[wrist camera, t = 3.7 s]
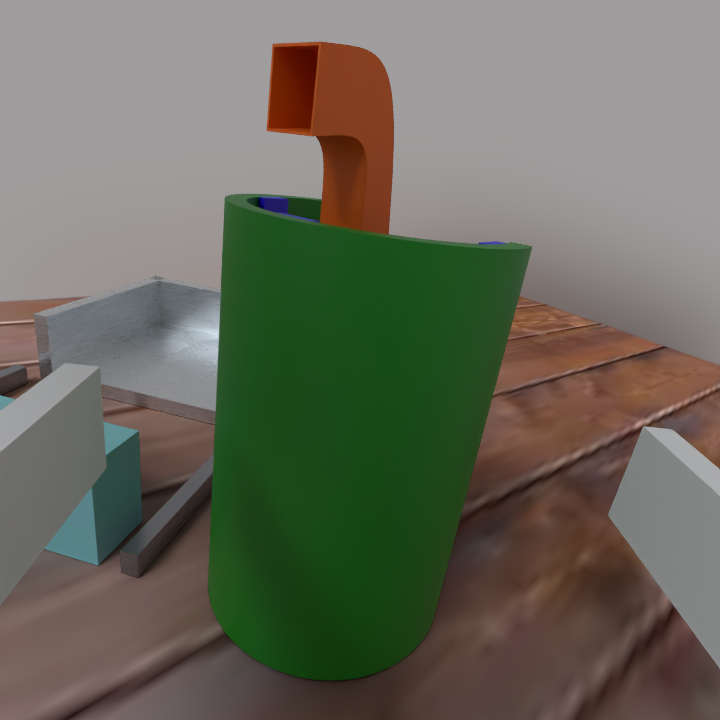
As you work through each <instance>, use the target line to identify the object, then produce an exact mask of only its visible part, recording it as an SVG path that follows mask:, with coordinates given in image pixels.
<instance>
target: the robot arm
mask: <svg viewBox="0 0 720 720" xmlns="http://www.w3.org/2000/svg"><path fill="white" fill-rule="evenodd" d="M106 468H107V466H106V451H105V436H104V421H103V406H102V391H101V376H100V367H98V366H89V365H80V364H71V363H65V364H63V365H62V366H60V367H59V368H58V369H56V370H55V371H54V372H52V373H51V374H50V375H48V376H47V377H46V378H44V379H43V380H41V381H40V382H39V383H37V384H36V385H35V386H33V387H32V388H31V389H29V390H28V391H27V392H25V393H24V394H22V395H21V396H20V397H18V398H17V399H16V400H14V401H13V402H12V403H10V404H9V405H8V406H6V407H5V408H3V409H2V410H1V411H0V606H1V604H2V603H3V602H4V601H5V599H6V598H7V597H8V595H9V594H10V593H11V591H12V590H13V589H14V588H15V586H16V585H17V584H18V582H19V581H20V580H21V578H22V577H23V576H24V574H25V573H26V572H27V571H28V569H29V568H30V567H31V565H32V564H33V563H34V561H35V560H36V559H37V558H38V556H39V555H40V554H41V552H42V551H43V550H44V548H45V547H46V546H47V545H48V543H49V542H50V541H51V539H52V538H53V537H54V535H55V534H56V533H57V532H58V530H59V529H60V528H61V526H62V525H63V524H64V522H65V521H66V520H67V519H68V517H69V516H70V515H71V513H72V512H73V511H74V509H75V508H76V507H77V505H78V504H79V503H80V502H81V500H82V499H83V498H84V496H85V495H86V494H87V492H88V491H89V490H90V489H91V487H92V486H93V485H94V483H95V482H96V481H97V479H98V478H99V477H100V476H101V474H102V473H103V472H104V470H105V469H106ZM608 516H609V517H610V519H611V520H612V522H613V523H614V524H615V526H616V527H617V528H618V530H619V531H620V533H621V534H622V535H623V537H624V538H625V539H626V541H627V542H628V544H629V545H630V546H631V548H632V549H633V550H634V552H635V553H636V554H637V556H638V557H639V559H640V560H641V561H642V563H643V564H644V565H645V567H646V568H647V570H648V571H649V572H650V574H651V575H652V576H653V578H654V579H655V581H656V582H657V583H658V585H659V586H660V587H661V589H662V590H663V592H664V593H665V594H666V596H667V597H668V598H669V600H670V601H671V602H672V604H673V605H674V607H675V608H676V609H677V611H678V612H679V613H680V615H681V616H682V618H683V619H684V620H685V622H686V623H687V624H688V626H689V627H690V629H691V630H692V631H693V633H694V634H695V635H696V637H697V638H698V640H699V641H700V642H701V644H702V645H703V646H704V648H705V649H706V650H707V652H708V653H709V655H710V656H711V657H712V659H713V660H714V661H715V663H716V664H717V666H718V667H719V668H720V469H719V468H718V467H716V466H715V465H714V464H713V463H712V462H710V461H709V460H708V459H707V458H706V457H705V456H703V455H702V454H701V453H700V452H699V451H697V450H696V449H695V448H694V447H693V446H691V445H690V444H689V443H688V442H687V441H685V440H684V439H683V438H682V437H681V436H679V435H678V434H677V433H676V432H675V431H673V430H672V429H662V428H653V427H644V426H643V429H642V431H641V434H640V436H639V439H638V441H637V444H636V446H635V449H634V451H633V454H632V456H631V459H630V461H629V464H628V466H627V469H626V471H625V474H624V476H623V479H622V481H621V484H620V486H619V489H618V491H617V494H616V496H615V499H614V501H613V504H612V506H611V509H610V512H609V514H608Z"/></svg>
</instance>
